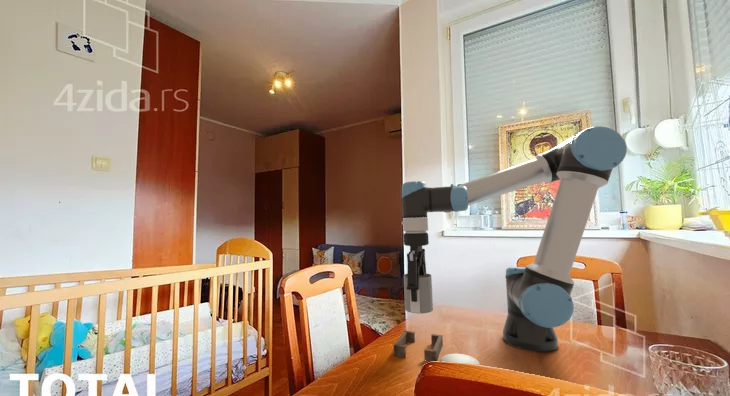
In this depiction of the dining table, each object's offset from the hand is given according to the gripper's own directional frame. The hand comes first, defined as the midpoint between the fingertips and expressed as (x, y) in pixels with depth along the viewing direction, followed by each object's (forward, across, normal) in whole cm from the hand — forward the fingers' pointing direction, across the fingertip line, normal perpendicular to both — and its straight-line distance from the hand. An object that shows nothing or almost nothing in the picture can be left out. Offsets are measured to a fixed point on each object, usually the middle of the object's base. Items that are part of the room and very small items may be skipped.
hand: (418, 307), depth 90 cm
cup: (+1, 0, 0) cm, 1 cm away
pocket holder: (+13, 0, 0) cm, 13 cm away
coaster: (+13, +4, +12) cm, 18 cm away
